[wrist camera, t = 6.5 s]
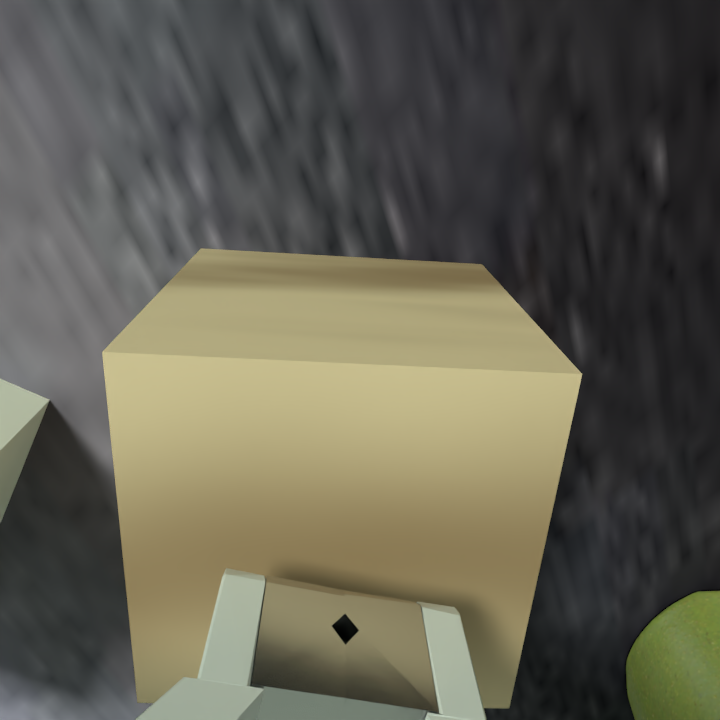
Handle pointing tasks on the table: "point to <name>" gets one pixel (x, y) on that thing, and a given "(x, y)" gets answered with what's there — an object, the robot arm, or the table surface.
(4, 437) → the dot block cream
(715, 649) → the plant pot
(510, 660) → the oak block
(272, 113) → the table surface
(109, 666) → the table surface
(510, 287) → the table surface
